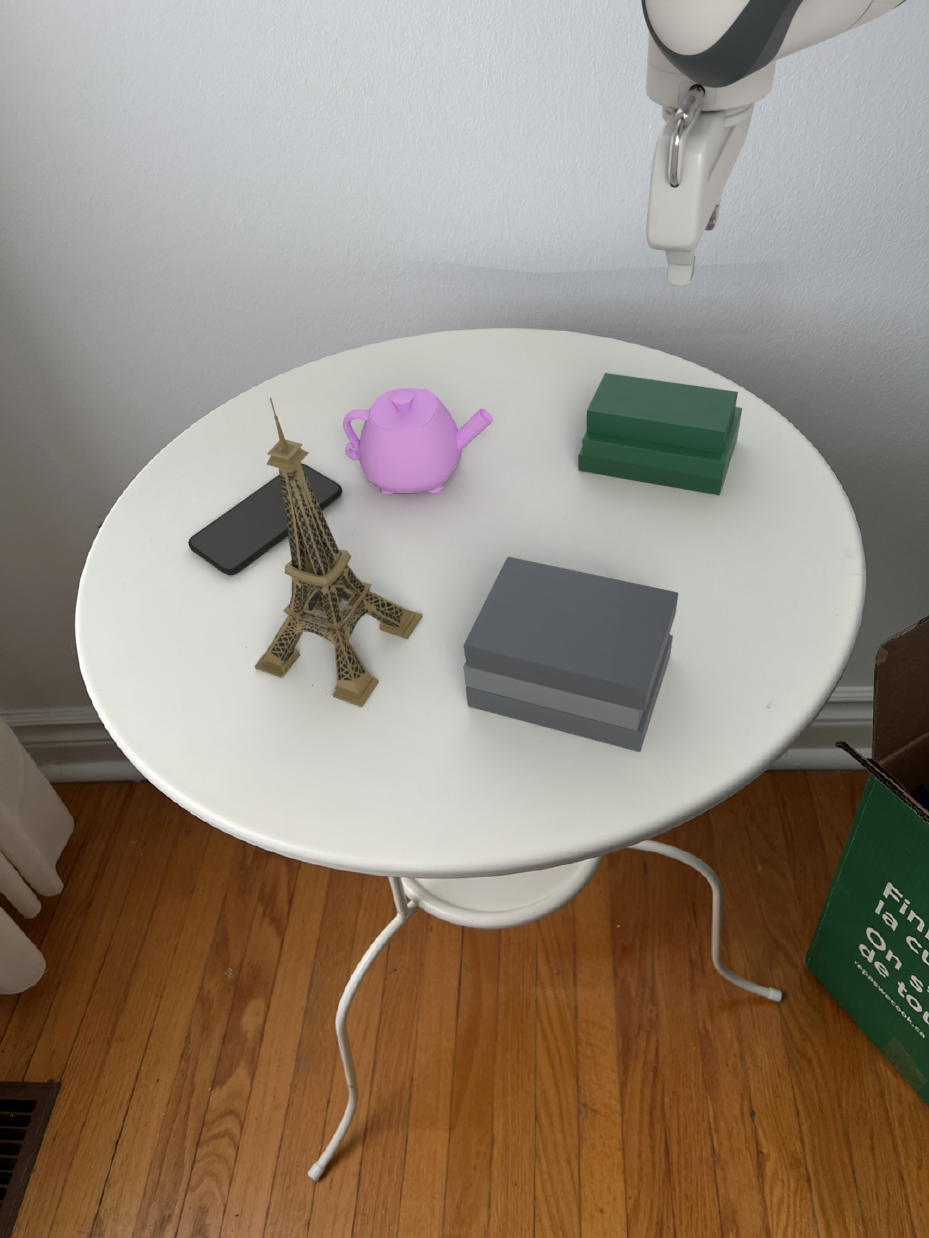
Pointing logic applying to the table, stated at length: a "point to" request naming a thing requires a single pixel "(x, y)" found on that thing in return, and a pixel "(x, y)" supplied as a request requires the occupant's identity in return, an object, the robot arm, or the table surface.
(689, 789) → the table surface
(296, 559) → the eiffel tower
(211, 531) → the smartphone
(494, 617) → the grey stack
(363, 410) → the teapot
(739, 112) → the robot arm
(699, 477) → the green stack
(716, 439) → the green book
